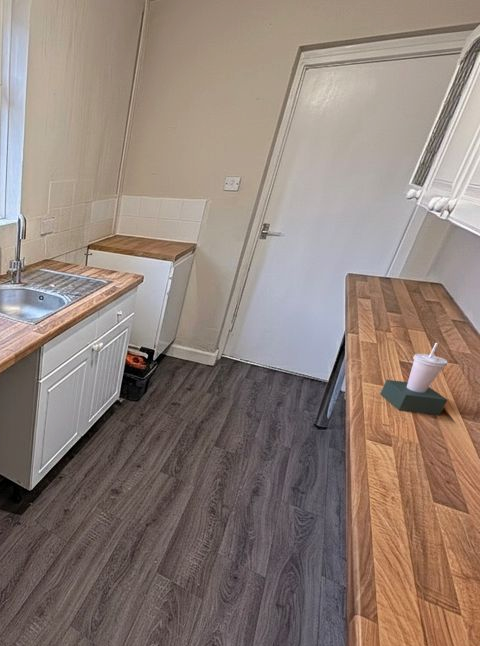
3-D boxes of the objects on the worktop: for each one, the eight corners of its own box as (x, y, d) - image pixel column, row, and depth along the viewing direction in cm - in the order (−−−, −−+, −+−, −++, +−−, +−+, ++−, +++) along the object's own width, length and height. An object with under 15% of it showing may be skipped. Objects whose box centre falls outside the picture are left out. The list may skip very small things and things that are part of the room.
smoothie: (425, 386, 117) (448, 341, 111) (437, 397, 112) (461, 350, 106) (395, 381, 119) (416, 337, 114) (406, 392, 114) (428, 346, 108)
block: (417, 398, 120) (425, 384, 118) (439, 415, 112) (447, 399, 110) (379, 394, 123) (386, 379, 121) (398, 410, 115) (406, 394, 113)
